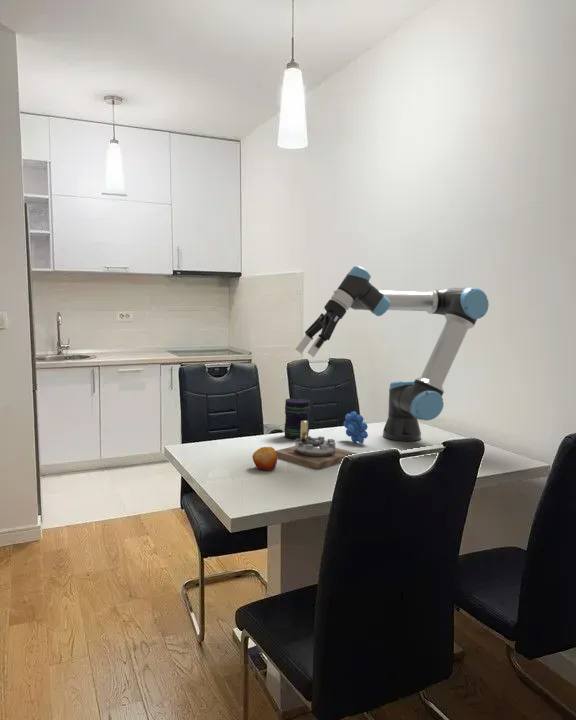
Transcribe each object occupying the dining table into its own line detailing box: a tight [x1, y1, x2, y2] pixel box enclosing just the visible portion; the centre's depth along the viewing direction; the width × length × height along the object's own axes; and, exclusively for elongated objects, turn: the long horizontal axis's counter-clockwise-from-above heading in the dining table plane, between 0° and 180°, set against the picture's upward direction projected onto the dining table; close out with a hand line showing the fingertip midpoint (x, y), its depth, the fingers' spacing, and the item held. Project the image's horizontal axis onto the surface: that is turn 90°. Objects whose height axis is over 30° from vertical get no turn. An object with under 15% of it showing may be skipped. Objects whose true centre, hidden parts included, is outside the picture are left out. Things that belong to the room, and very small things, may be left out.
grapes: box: [343, 410, 369, 444], centre depth 219 cm, size 12×7×12 cm, turn 44°
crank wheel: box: [294, 421, 337, 457], centre depth 196 cm, size 14×14×10 cm
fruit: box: [251, 446, 278, 471], centre depth 183 cm, size 8×8×8 cm
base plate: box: [275, 445, 356, 471], centre depth 197 cm, size 20×20×2 cm
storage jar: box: [283, 397, 311, 441], centre depth 224 cm, size 10×10×15 cm
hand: (304, 353), depth 200 cm, fingers open, 13 cm apart
